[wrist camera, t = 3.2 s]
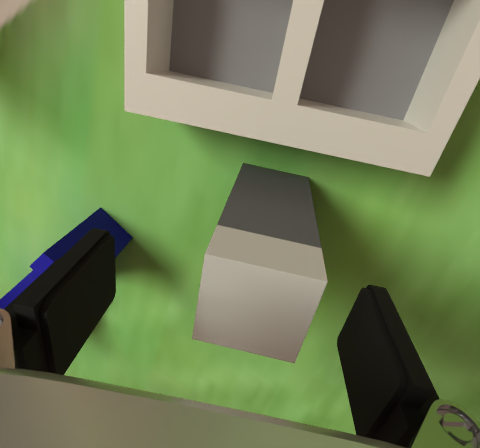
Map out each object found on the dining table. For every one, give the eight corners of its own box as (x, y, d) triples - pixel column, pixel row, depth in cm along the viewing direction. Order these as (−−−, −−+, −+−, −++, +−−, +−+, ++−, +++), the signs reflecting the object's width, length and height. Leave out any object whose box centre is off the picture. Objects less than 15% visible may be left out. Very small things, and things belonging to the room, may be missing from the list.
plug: (308, 177, 19) (327, 281, 10) (291, 233, 21) (294, 363, 12) (243, 163, 19) (205, 253, 10) (232, 220, 21) (192, 338, 12)
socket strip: (497, -66, 13) (582, -118, 9) (400, 152, 17) (431, 178, 14) (167, -129, 13) (121, -202, 10) (156, 100, 18) (122, 111, 14)
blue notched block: (62, 317, 28) (10, 377, 22) (20, 284, 26) (-46, 339, 21) (149, 250, 23) (107, 307, 18) (102, 206, 22) (43, 253, 16)
